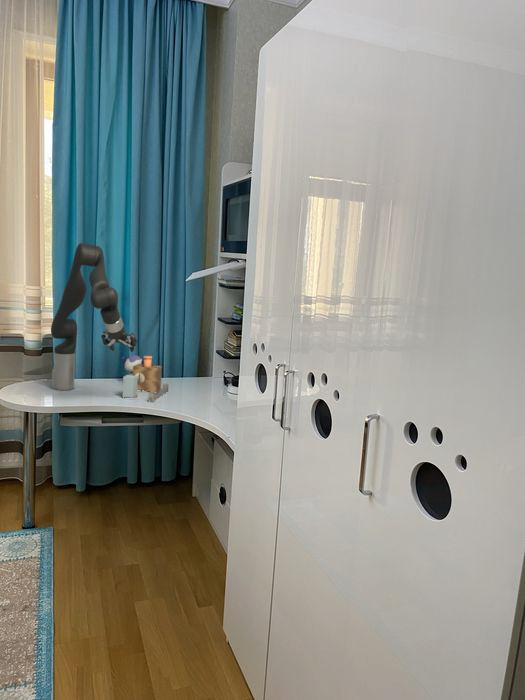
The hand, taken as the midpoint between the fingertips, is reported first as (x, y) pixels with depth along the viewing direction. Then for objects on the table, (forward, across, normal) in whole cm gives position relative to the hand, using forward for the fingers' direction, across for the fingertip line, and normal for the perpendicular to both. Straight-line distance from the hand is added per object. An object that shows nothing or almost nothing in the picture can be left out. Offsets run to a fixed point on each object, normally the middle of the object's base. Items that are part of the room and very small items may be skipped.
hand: (122, 349), depth 260 cm
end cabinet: (+37, -2, -4) cm, 37 cm away
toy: (+43, +7, -12) cm, 45 cm away
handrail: (+30, -11, +4) cm, 32 cm away
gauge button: (+30, -3, -10) cm, 32 cm away
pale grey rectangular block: (+25, 0, +8) cm, 26 cm away
